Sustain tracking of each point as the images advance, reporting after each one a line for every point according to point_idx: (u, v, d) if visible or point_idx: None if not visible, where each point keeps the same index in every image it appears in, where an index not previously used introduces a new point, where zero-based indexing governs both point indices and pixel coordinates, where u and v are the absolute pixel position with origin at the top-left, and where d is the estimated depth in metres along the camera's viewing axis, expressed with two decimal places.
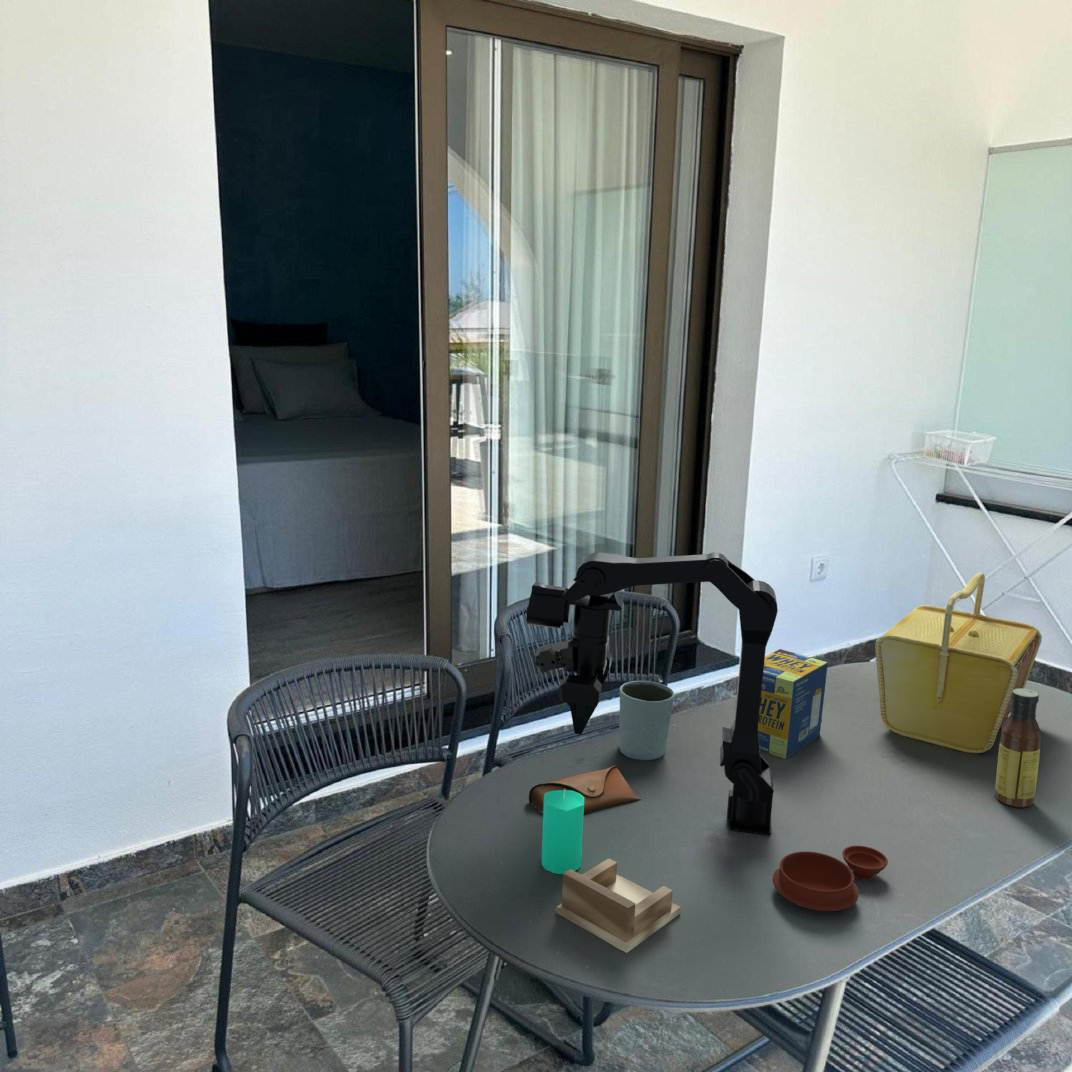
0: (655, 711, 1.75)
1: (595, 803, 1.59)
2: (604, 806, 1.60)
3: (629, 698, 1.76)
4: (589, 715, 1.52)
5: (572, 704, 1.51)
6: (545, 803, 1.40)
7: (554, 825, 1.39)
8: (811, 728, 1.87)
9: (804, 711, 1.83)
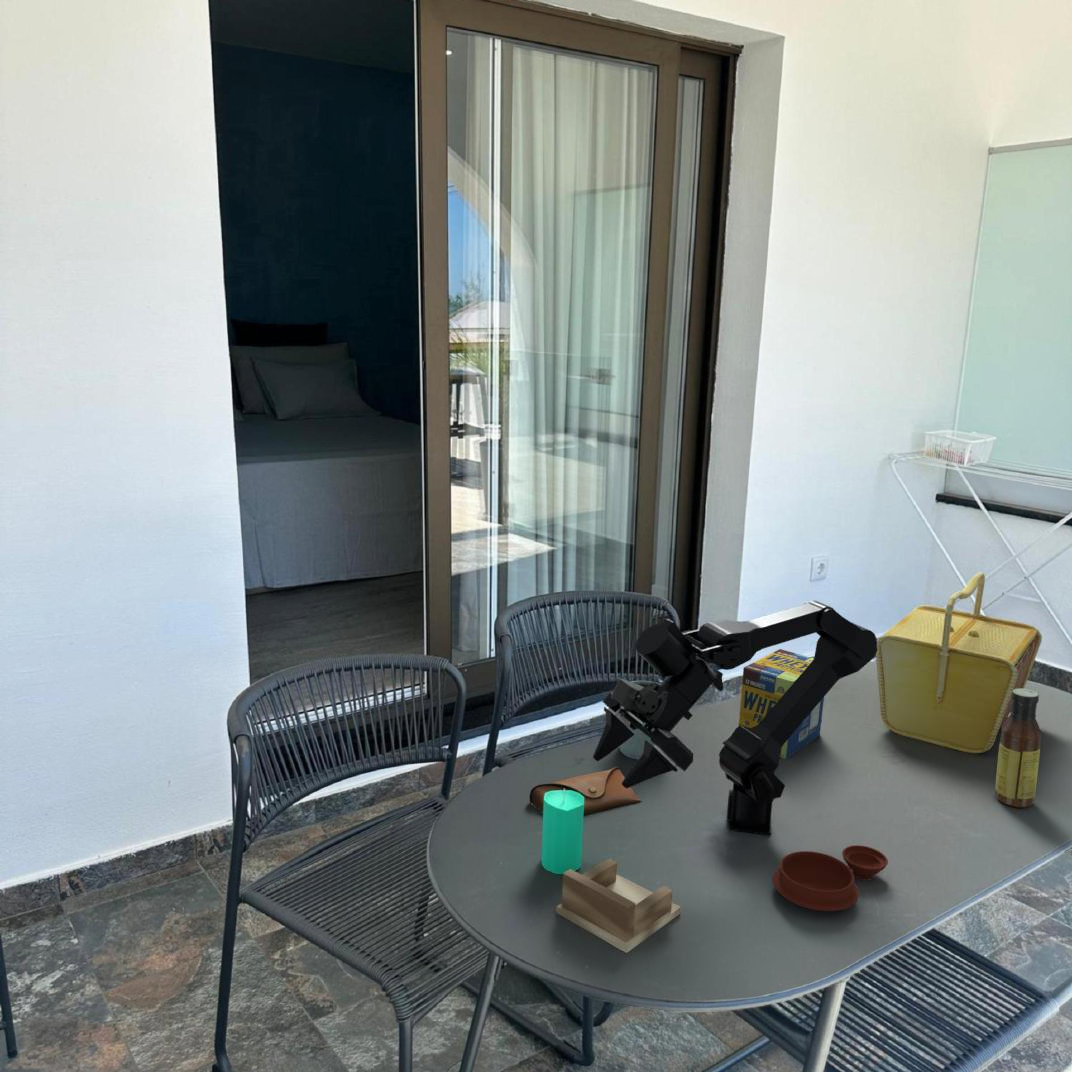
0: None
1: (596, 804, 1.59)
2: (605, 807, 1.59)
3: None
4: (653, 775, 1.39)
5: (651, 758, 1.38)
6: (545, 803, 1.40)
7: (554, 825, 1.39)
8: (811, 728, 1.87)
9: None
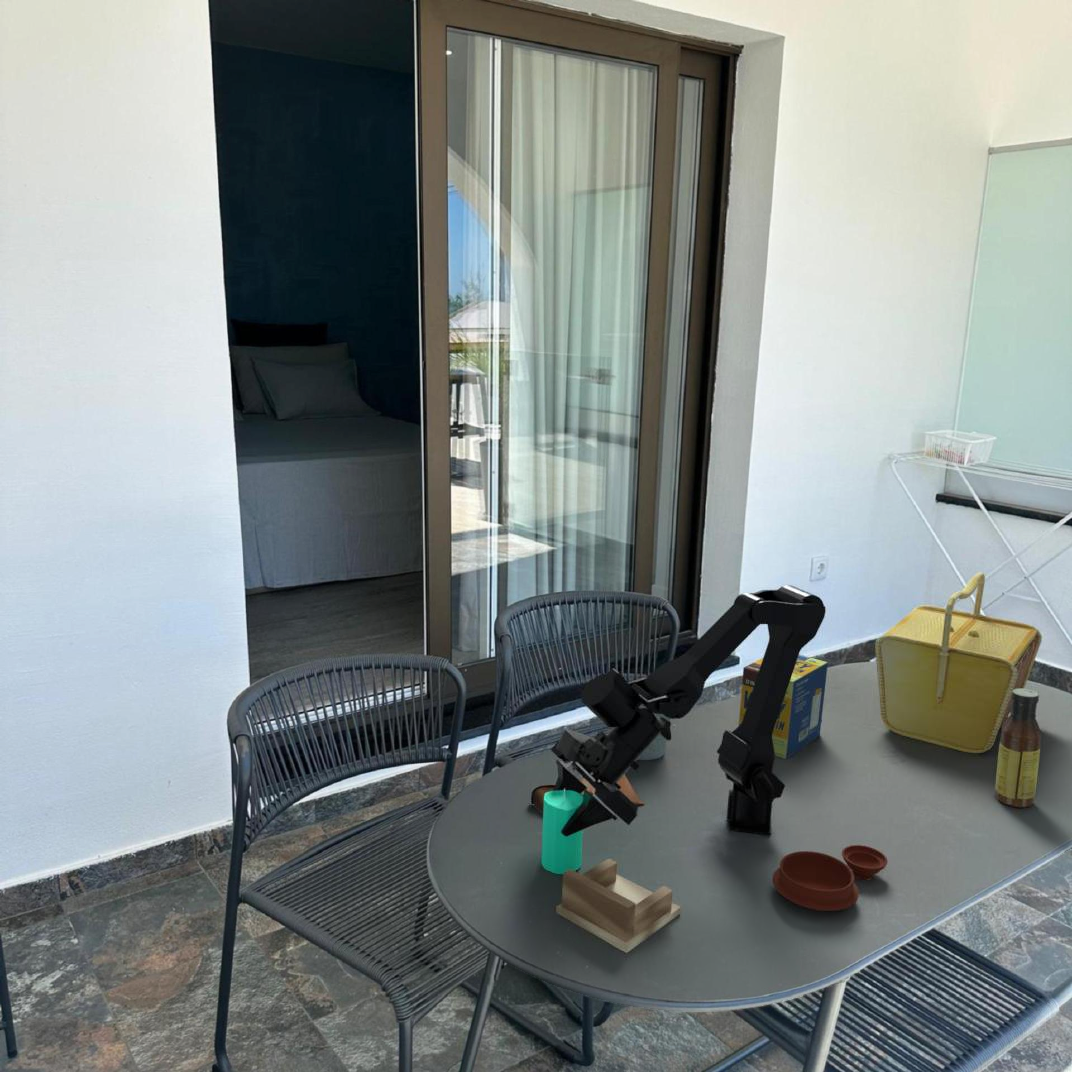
0: None
1: None
2: None
3: None
4: (593, 823, 1.39)
5: (590, 806, 1.37)
6: (545, 803, 1.40)
7: (554, 825, 1.39)
8: (811, 728, 1.87)
9: (804, 711, 1.83)
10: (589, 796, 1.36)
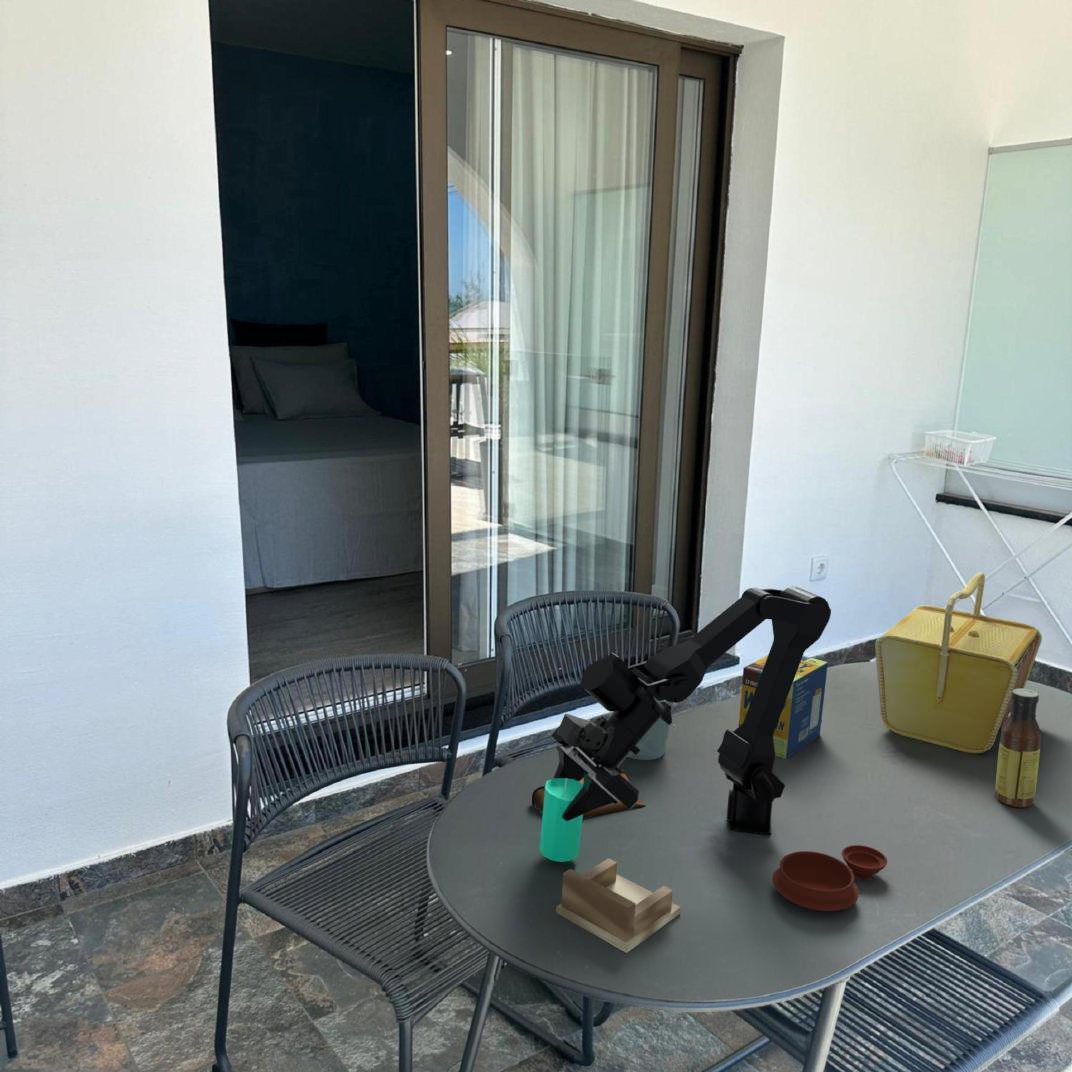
0: None
1: (597, 808, 1.58)
2: (607, 811, 1.58)
3: None
4: (594, 808, 1.38)
5: (590, 790, 1.37)
6: (546, 792, 1.40)
7: (554, 814, 1.39)
8: (811, 728, 1.87)
9: (804, 711, 1.83)
10: (589, 780, 1.36)
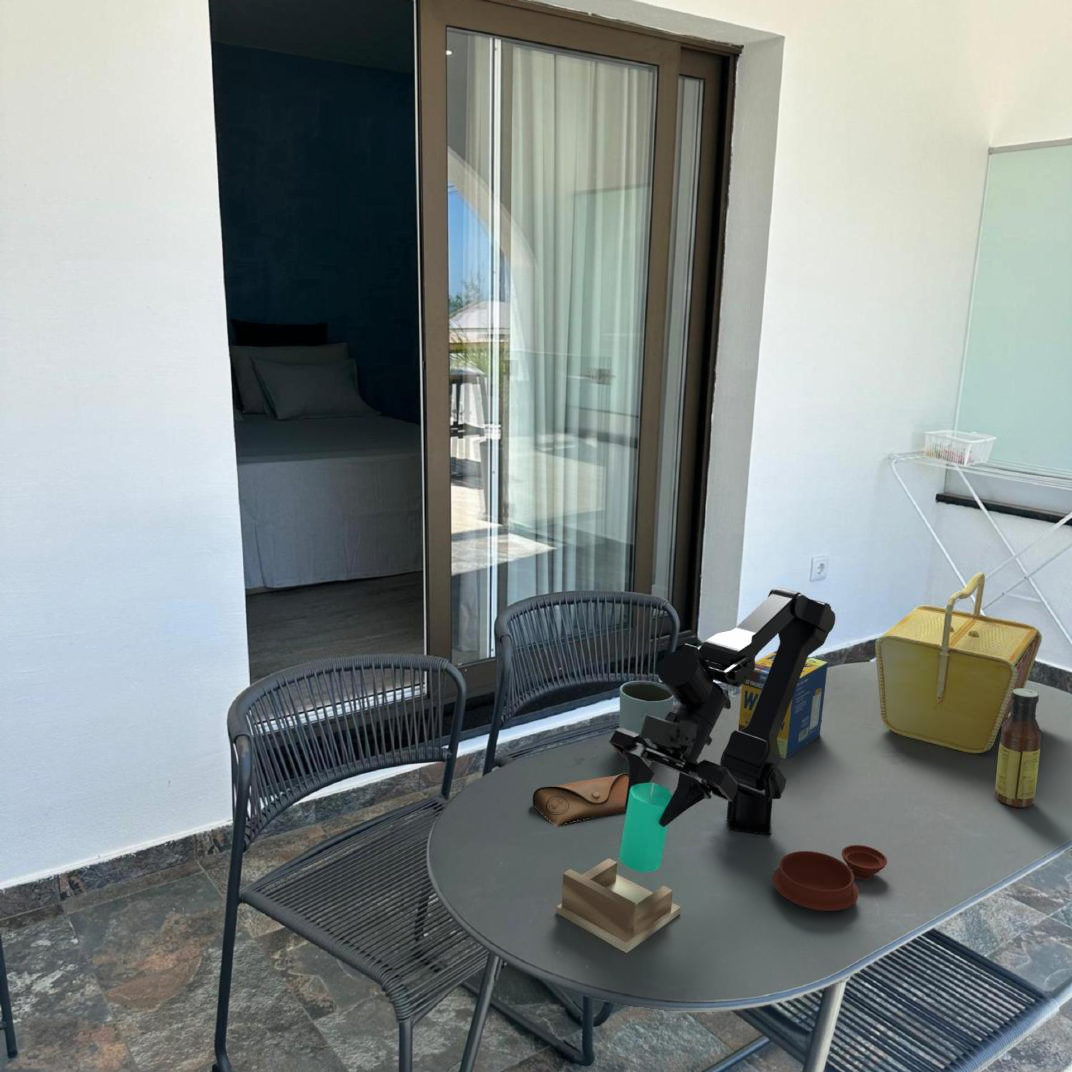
0: (655, 711, 1.75)
1: (598, 810, 1.57)
2: (607, 813, 1.58)
3: (629, 698, 1.76)
4: (687, 807, 1.32)
5: None
6: (637, 801, 1.31)
7: (649, 823, 1.31)
8: (811, 728, 1.87)
9: (804, 711, 1.83)
10: (690, 779, 1.29)
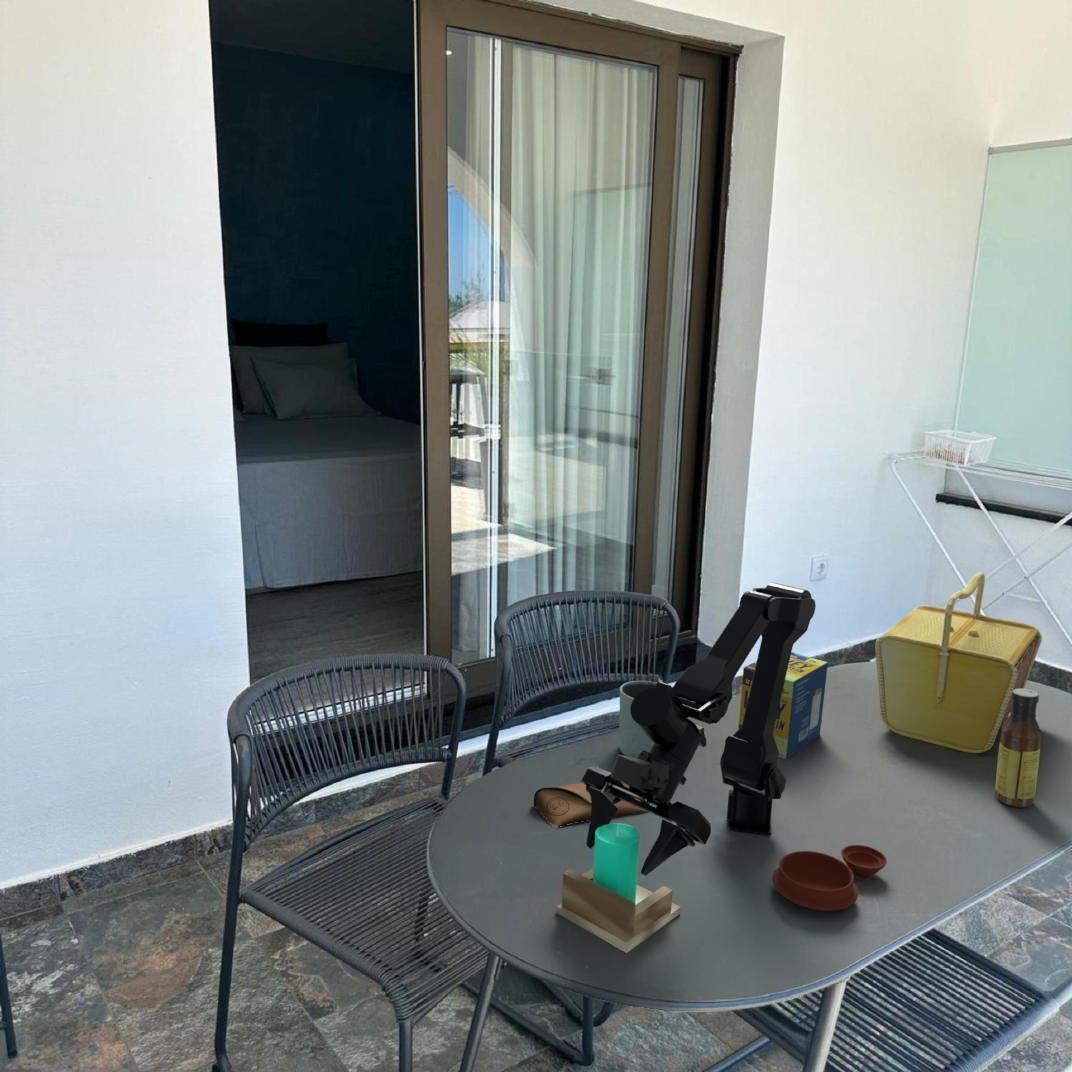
0: None
1: None
2: None
3: (629, 698, 1.76)
4: (670, 855, 1.28)
5: (670, 837, 1.26)
6: (602, 843, 1.28)
7: (616, 864, 1.28)
8: (811, 728, 1.87)
9: (804, 711, 1.83)
10: (672, 827, 1.25)
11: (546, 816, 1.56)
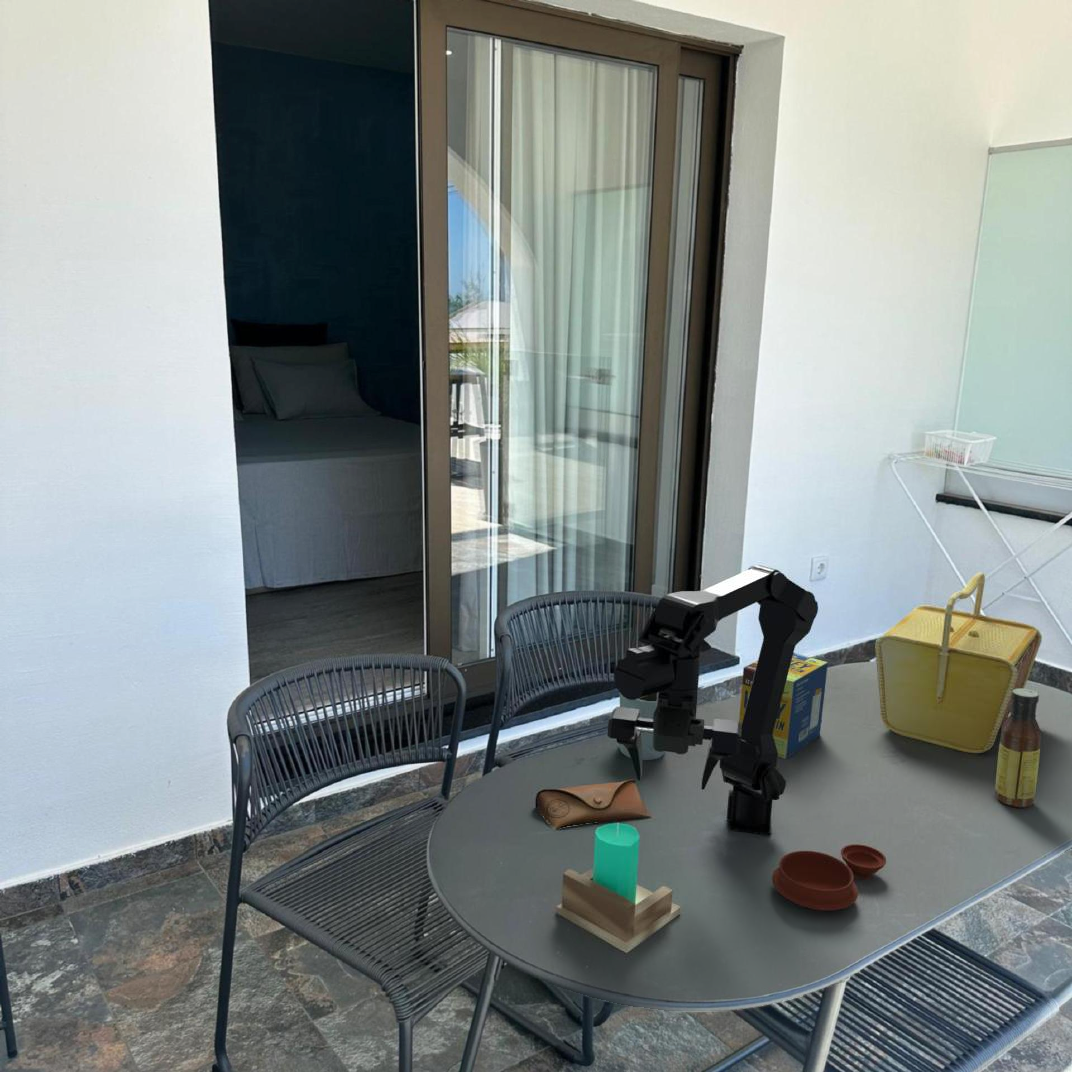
0: None
1: (599, 815, 1.55)
2: (609, 819, 1.56)
3: None
4: None
5: None
6: (602, 843, 1.28)
7: (616, 864, 1.28)
8: (811, 728, 1.87)
9: (804, 711, 1.83)
10: (721, 756, 1.36)
11: (546, 818, 1.55)
